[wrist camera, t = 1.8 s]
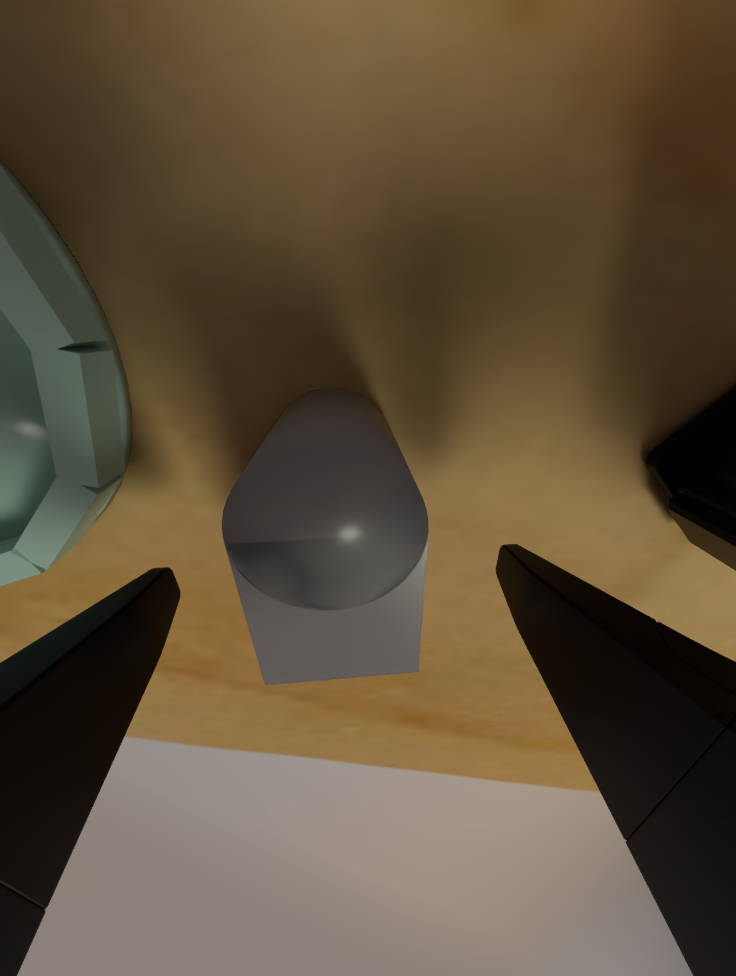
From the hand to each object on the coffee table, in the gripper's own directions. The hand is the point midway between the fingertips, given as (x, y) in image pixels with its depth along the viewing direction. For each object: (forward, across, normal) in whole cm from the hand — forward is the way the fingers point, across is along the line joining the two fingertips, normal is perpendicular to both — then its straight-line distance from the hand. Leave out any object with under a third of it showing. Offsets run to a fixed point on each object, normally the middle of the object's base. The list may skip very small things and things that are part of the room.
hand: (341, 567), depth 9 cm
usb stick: (+3, 0, 0) cm, 3 cm away
